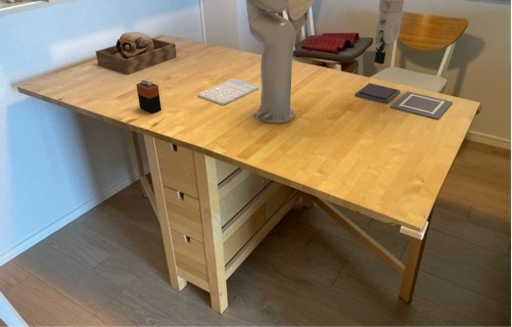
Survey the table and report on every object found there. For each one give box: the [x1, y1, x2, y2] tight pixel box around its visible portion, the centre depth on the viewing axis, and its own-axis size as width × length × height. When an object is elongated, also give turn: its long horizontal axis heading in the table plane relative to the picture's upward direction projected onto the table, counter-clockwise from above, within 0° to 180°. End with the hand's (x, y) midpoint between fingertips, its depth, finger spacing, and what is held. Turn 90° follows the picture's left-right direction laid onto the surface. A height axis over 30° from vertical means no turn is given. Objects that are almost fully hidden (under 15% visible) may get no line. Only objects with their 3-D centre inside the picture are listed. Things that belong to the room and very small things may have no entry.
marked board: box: [389, 91, 453, 121], centre depth 149 cm, size 16×16×1 cm
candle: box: [373, 41, 395, 69], centre depth 149 cm, size 6×6×10 cm
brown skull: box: [114, 31, 154, 59], centre depth 186 cm, size 16×18×14 cm
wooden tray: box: [95, 37, 177, 75], centre depth 189 cm, size 27×20×6 cm
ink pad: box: [354, 82, 401, 105], centre depth 157 cm, size 12×12×2 cm
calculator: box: [197, 78, 260, 107], centre depth 159 cm, size 13×20×2 cm, turn 141°
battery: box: [135, 79, 162, 114], centre depth 145 cm, size 4×7×10 cm, turn 48°
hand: (382, 60), depth 150 cm, fingers closed on candle, 5 cm apart
